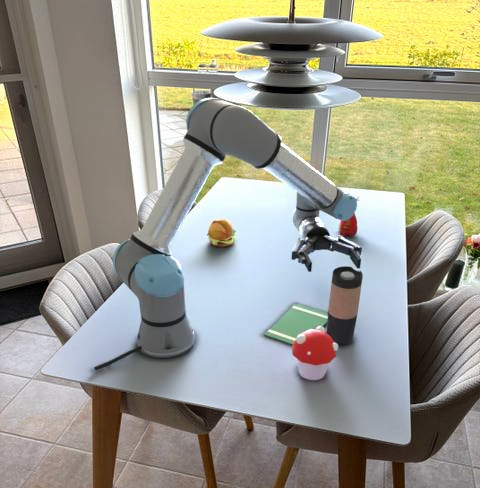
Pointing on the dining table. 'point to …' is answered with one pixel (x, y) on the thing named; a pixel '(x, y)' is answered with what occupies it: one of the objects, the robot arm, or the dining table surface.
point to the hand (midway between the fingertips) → (335, 265)
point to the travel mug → (343, 304)
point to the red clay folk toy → (348, 226)
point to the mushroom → (314, 353)
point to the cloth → (297, 323)
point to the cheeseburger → (221, 233)
